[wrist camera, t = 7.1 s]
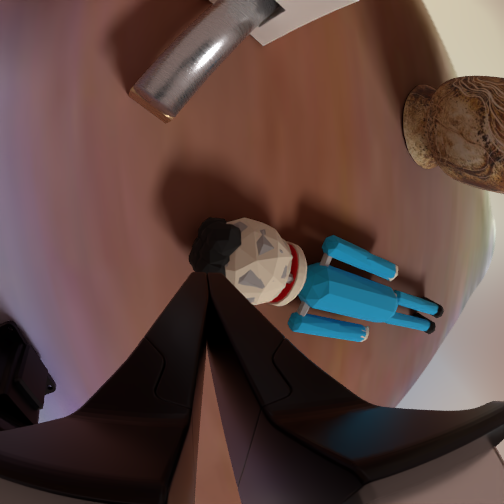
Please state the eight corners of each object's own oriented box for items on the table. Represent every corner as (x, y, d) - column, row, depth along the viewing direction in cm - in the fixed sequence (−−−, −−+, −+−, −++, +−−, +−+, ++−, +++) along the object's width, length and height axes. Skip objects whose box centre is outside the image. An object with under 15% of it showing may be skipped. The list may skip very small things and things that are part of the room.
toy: (431, 281, 35) (206, 181, 21) (466, 298, 31) (236, 192, 16) (403, 338, 37) (165, 289, 22) (435, 360, 32) (183, 329, 17)
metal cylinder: (165, 123, 18) (181, 115, 14) (128, 95, 17) (133, 79, 13) (302, -18, 18) (341, -41, 14) (276, -42, 17) (310, -70, 13)
